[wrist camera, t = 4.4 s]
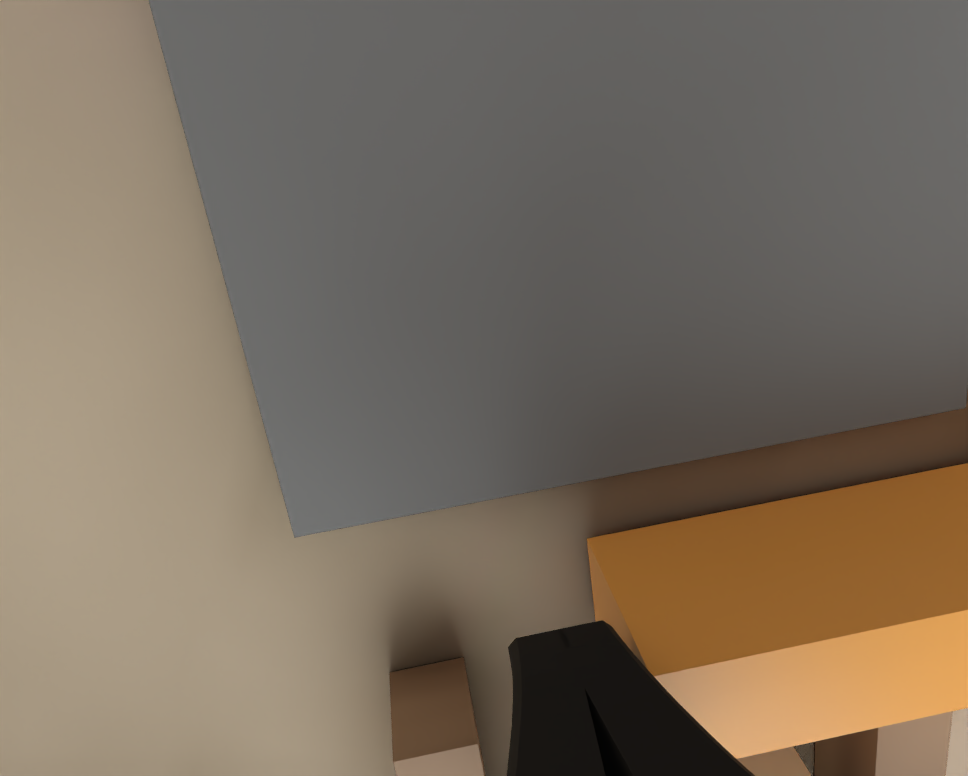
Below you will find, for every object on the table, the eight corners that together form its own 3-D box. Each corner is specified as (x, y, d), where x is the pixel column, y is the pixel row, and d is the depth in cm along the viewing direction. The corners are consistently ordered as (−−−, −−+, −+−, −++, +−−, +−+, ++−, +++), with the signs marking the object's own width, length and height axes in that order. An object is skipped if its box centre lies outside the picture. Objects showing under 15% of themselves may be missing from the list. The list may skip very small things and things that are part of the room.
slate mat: (948, 397, 12) (965, 408, 12) (296, 522, 12) (294, 537, 11) (1026, -462, 9) (1055, -484, 8) (62, -354, 8) (46, -374, 8)
